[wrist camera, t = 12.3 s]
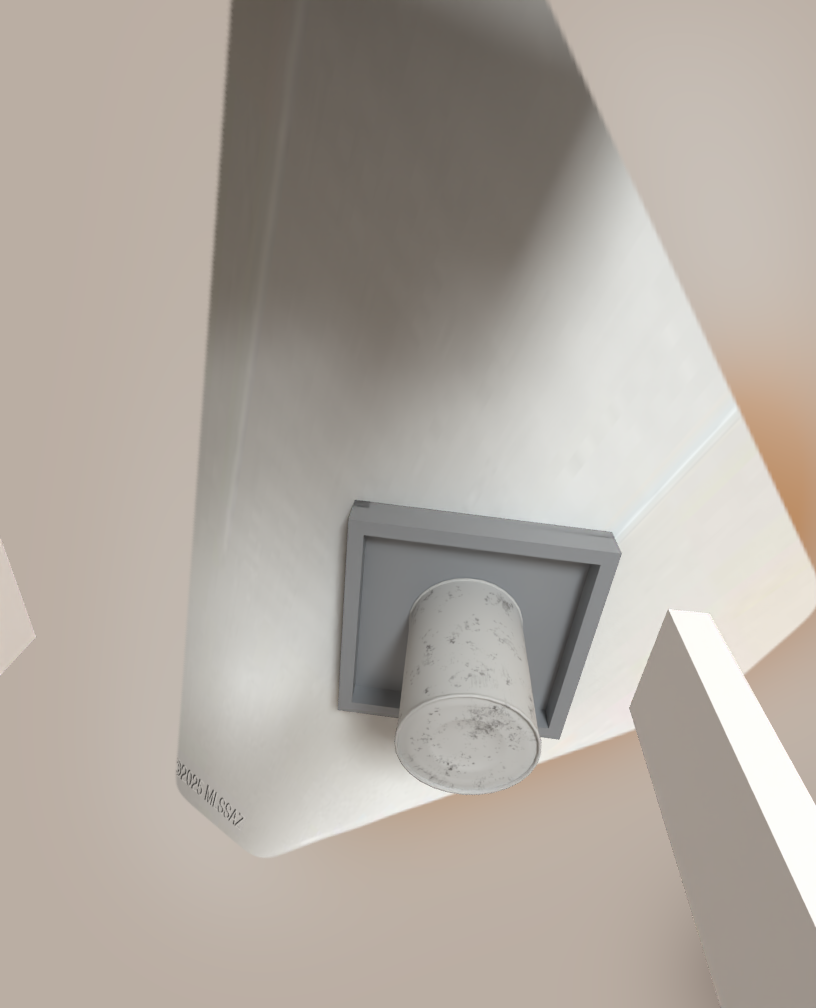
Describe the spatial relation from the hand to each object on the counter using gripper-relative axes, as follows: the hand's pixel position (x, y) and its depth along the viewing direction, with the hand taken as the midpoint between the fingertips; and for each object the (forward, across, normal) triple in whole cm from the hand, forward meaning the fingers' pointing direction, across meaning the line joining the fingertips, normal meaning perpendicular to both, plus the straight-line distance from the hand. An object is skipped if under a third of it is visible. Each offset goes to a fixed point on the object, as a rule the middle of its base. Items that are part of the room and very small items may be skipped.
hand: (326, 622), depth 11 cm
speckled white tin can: (+28, +6, -24) cm, 38 cm away
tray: (+29, +6, -25) cm, 38 cm away
